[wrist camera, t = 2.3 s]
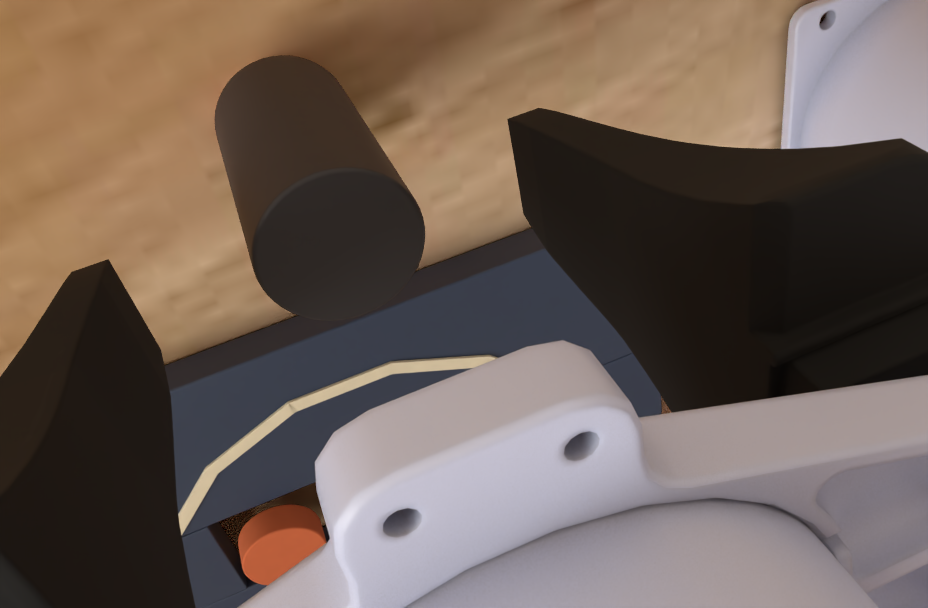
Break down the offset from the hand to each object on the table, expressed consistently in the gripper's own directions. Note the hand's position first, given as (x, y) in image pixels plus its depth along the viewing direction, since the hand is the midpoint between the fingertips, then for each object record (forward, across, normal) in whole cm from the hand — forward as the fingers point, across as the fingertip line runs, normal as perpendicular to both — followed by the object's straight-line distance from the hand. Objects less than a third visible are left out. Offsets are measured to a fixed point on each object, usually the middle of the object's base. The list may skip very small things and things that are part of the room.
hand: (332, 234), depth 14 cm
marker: (+6, 0, 0) cm, 6 cm away
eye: (+6, +4, +13) cm, 15 cm away
